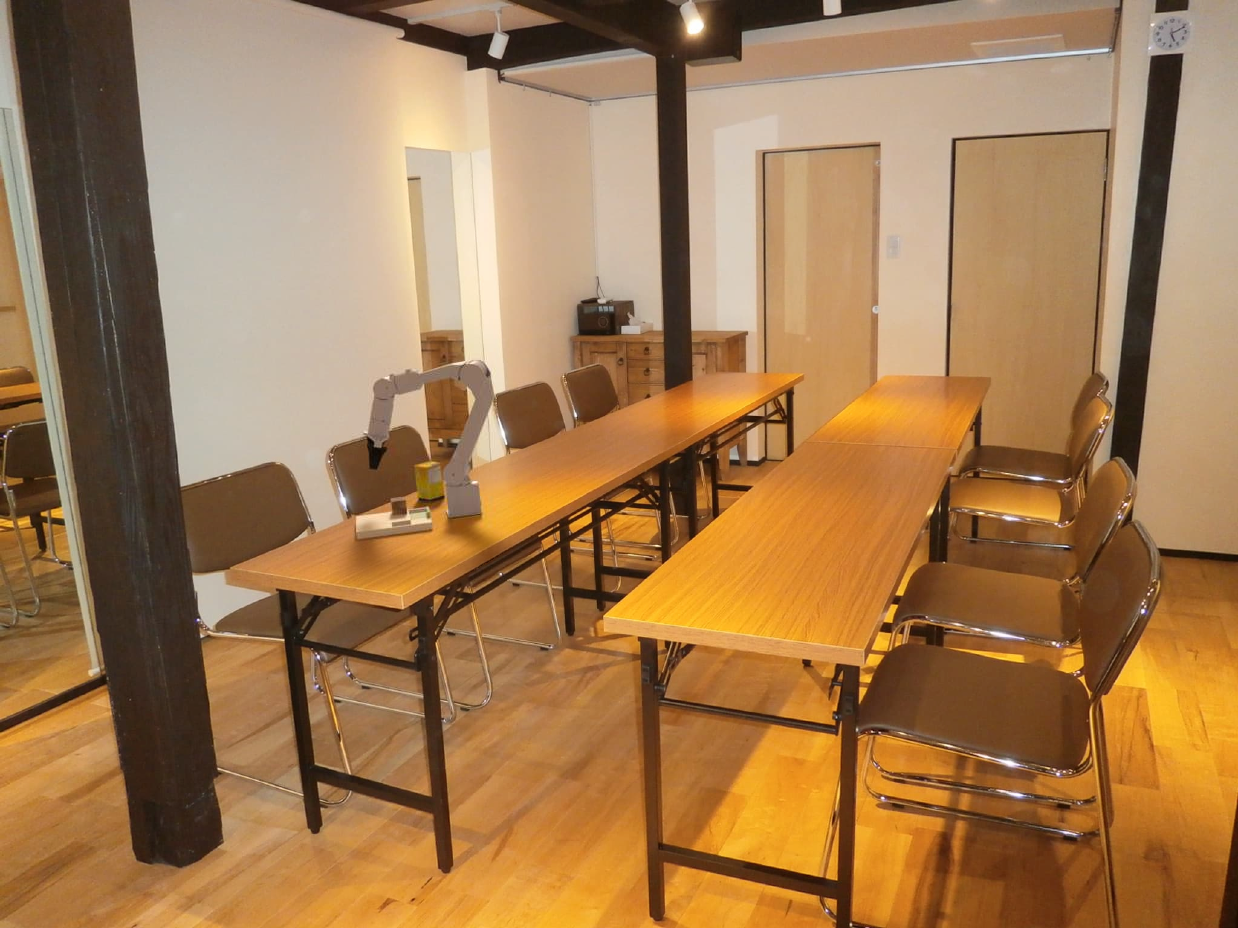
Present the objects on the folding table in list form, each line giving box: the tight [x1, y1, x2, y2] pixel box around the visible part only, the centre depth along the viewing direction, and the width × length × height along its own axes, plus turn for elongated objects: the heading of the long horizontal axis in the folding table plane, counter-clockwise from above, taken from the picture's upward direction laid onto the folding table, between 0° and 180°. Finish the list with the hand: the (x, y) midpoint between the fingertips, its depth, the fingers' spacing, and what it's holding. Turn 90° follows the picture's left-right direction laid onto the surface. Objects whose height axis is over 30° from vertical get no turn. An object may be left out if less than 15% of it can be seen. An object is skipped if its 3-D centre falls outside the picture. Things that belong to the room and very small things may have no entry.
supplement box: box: [413, 461, 446, 503], centre depth 295 cm, size 6×6×11 cm
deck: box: [355, 506, 434, 540], centre depth 269 cm, size 20×16×4 cm
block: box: [390, 496, 408, 515], centre depth 274 cm, size 4×4×4 cm
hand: (372, 465), depth 276 cm, fingers open, 7 cm apart
